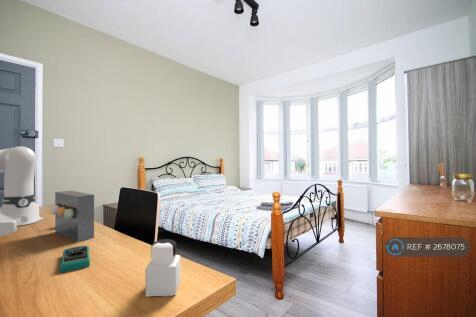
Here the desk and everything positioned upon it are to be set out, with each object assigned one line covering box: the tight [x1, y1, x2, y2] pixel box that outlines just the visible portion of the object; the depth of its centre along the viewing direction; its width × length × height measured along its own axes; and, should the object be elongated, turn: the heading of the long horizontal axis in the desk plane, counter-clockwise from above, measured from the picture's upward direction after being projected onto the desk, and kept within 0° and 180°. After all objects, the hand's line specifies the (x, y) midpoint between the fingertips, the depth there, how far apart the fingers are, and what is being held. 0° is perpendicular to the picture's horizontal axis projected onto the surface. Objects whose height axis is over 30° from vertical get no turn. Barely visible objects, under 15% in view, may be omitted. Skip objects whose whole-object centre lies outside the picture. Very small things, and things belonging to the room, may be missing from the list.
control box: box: [54, 190, 95, 243], centre depth 100 cm, size 22×6×18 cm, turn 57°
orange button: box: [57, 207, 67, 216], centre depth 97 cm, size 4×2×4 cm, turn 57°
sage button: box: [64, 208, 75, 219], centre depth 93 cm, size 4×2×4 cm, turn 57°
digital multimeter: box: [59, 245, 91, 273], centre depth 75 cm, size 7×15×3 cm, turn 34°
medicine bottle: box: [144, 238, 181, 297], centre depth 59 cm, size 7×7×12 cm
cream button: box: [50, 204, 61, 215], centre depth 100 cm, size 4×2×4 cm, turn 57°
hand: (26, 218), depth 82 cm, fingers closed
